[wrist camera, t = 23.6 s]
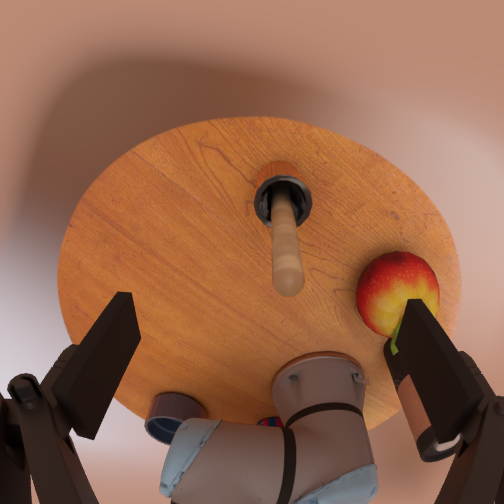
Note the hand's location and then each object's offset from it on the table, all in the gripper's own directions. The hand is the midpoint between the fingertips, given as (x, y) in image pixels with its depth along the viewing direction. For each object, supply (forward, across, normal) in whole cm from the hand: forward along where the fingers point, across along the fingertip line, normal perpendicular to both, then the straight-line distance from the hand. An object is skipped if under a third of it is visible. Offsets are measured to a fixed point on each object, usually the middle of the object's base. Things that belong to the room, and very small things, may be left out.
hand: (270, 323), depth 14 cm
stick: (+23, -1, -2) cm, 23 cm away
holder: (+24, -1, -2) cm, 24 cm away
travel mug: (+24, -22, +22) cm, 40 cm away
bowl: (+24, +15, +38) cm, 48 cm away
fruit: (+24, -16, +10) cm, 31 cm away
